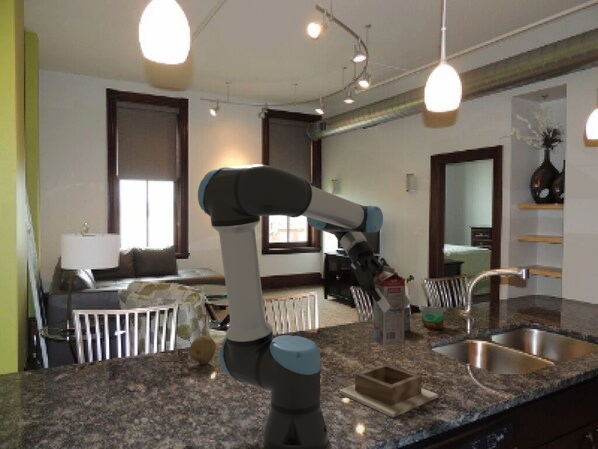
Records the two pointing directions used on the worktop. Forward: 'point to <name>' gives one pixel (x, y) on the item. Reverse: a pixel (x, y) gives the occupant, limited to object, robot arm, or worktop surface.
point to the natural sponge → (202, 349)
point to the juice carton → (390, 309)
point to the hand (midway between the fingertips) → (397, 307)
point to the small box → (407, 319)
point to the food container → (432, 317)
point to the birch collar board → (388, 390)
